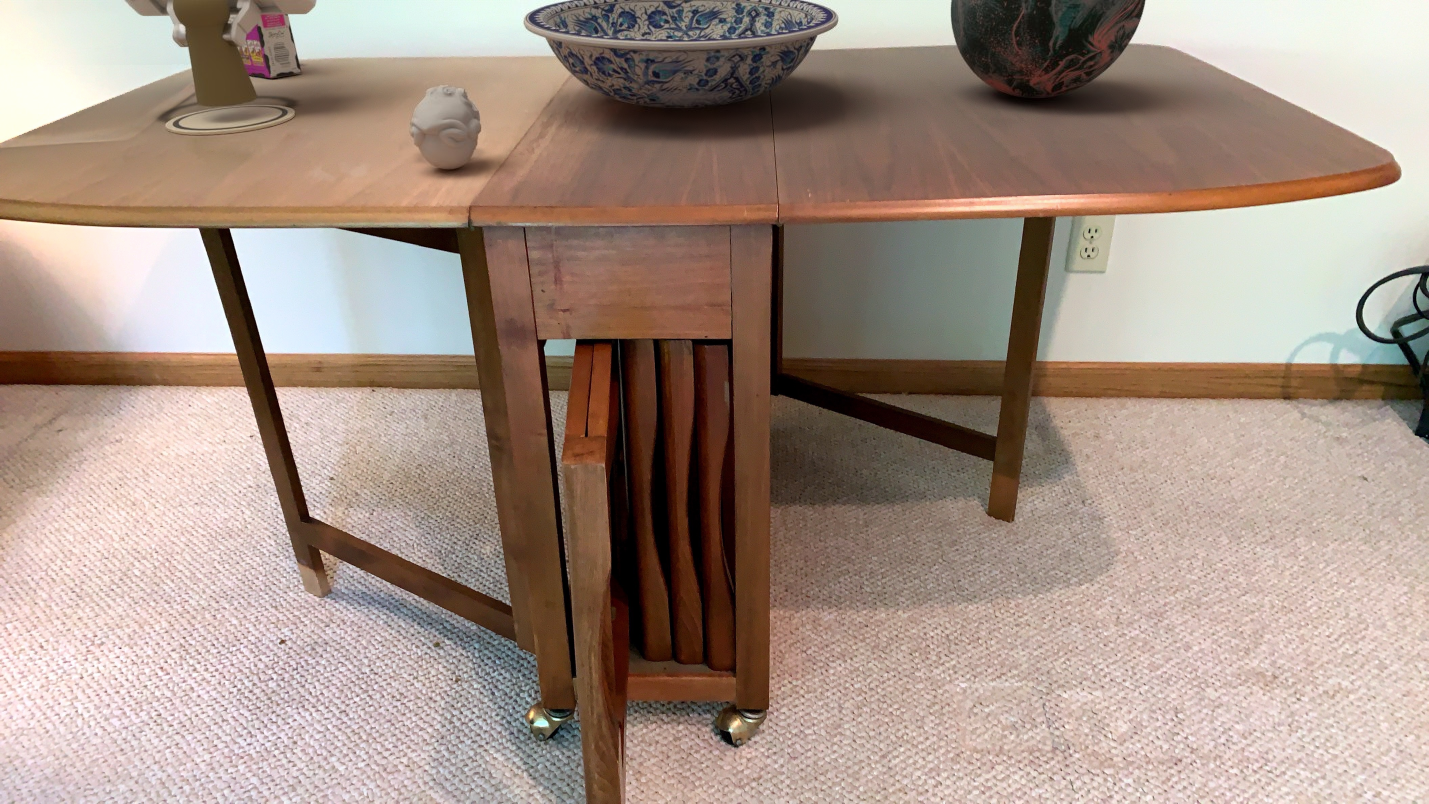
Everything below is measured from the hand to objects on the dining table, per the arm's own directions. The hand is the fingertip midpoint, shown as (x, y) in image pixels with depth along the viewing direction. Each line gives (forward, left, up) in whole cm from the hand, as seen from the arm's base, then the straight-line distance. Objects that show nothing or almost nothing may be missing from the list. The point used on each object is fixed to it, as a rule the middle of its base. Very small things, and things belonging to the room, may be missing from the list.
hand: (208, 43), depth 94 cm
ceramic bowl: (+50, -5, -8) cm, 51 cm away
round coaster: (0, 0, -8) cm, 8 cm away
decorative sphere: (+89, -13, -8) cm, 90 cm away
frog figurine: (+25, -26, -8) cm, 37 cm away
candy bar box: (-3, +30, -8) cm, 32 cm away
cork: (0, +1, -6) cm, 6 cm away
